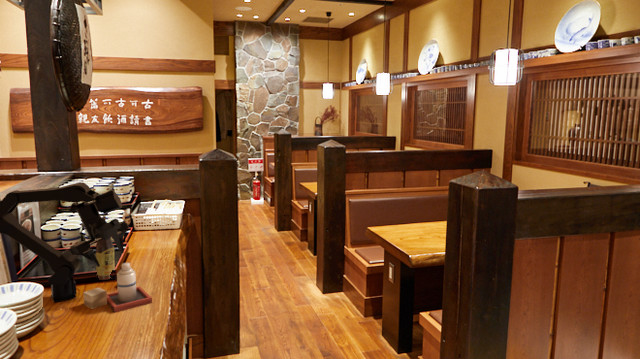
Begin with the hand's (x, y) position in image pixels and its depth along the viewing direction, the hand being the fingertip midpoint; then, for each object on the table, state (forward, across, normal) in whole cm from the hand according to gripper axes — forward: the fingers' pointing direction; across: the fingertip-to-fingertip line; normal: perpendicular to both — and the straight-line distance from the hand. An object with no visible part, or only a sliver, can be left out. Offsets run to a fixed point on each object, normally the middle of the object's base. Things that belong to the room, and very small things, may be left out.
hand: (111, 259), depth 147 cm
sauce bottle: (+10, +4, +18) cm, 21 cm away
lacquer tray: (+14, -4, -6) cm, 16 cm away
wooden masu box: (+10, -11, 0) cm, 15 cm away
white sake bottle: (+13, -4, -6) cm, 15 cm away
